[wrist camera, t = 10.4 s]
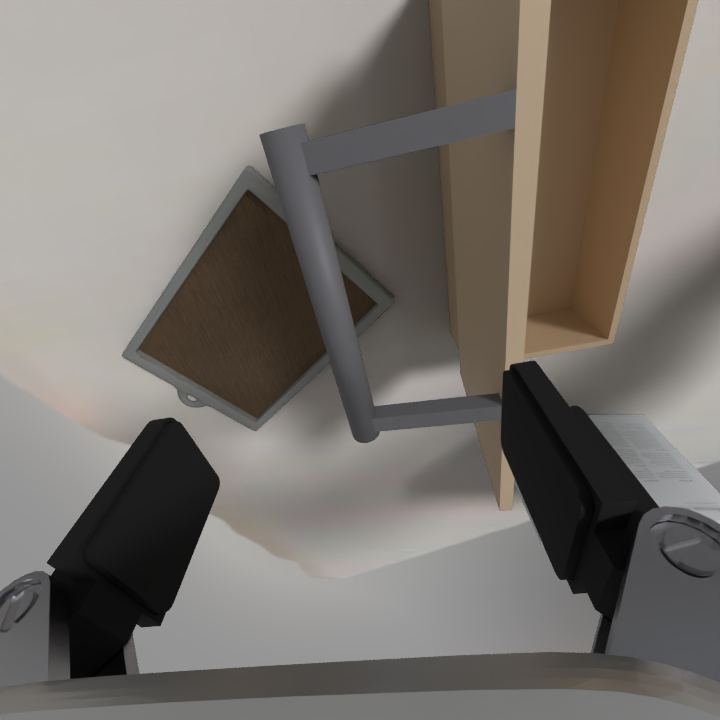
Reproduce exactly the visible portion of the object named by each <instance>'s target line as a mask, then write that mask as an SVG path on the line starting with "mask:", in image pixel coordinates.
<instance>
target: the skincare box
mask: <svg viewBox="0 0 720 720" xmlns="http://www.w3.org/2000/svg"><path fill="white" fill-rule="evenodd" d="M588 416H589V418H590V419H591V420H592V421H593V423H594V424H595V425H596V427H597V428H598V429H599V430H600V432H601V433H602V434H603V436H604V437H605V438H606V439H607V441H608V442H609V443H610V445H611V446H612V447H613V448H614V450H615V451H616V452H617V453H618V455H619V456H620V457H621V459H622V460H623V461H624V462H625V464H626V465H627V466H628V468H629V469H630V470H631V471H632V473H633V474H634V475H635V477H636V478H637V479H638V480H639V482H640V483H641V484H642V486H643V487H644V488H645V489H646V491H647V492H648V493H649V494H650V496H651V497H652V498H653V500H654V501H655V502H656V503H657V505H658V506H659V507H664V506H668V507H680V508H684V509H687V510H691V511H694V512H697V513H700V514H702V515H704V516H706V517H708V518H710V519H712V520H714V521H716V522H717V523H719V524H720V494H719V493H718V492H717V491H716V490H715V489H714V487H713V486H712V485H711V484H710V483H709V482H708V481H707V480H706V479H705V478H704V477H703V476H702V475H701V474H700V473H699V471H698V470H697V469H696V468H695V467H694V466H693V465H692V464H691V463H690V462H689V461H688V460H687V459H686V458H685V457H684V456H683V455H682V454H681V453H680V452H679V451H678V449H677V448H675V447H674V446H673V445H672V444H671V443H670V442H669V441H668V440H667V439H666V438H665V437H664V435H663V434H662V433H661V432H660V431H659V430H658V429H657V428H656V427H655V426H654V425H653V424H652V423H651V422H650V421H649V420H648V418H647V417H646V416H645V415H588ZM514 483H515V486H516V488H517V490H518V492H519V495H520V497H521V499H522V501H523V504H524V506H525V508H526V511H527V513H528V515H529V517H530V520H531V522H532V524H533V527H534V529H535V531H536V533H537V536H538V538H539V540H540V542H541V544H543V543H542V541H541V538H540V536H539V534H538V532H537V529H536V527H535V525H534V522H533V520H532V518H531V515H530V513H529V511H528V508H527V506H526V504H525V501H524V499H523V497H522V494H521V492H520V490H519V488H518V485H517V483H516V481H515V479H514Z"/></svg>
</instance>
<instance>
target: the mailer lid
mask: <svg viewBox="0 0 720 720" xmlns="http://www.w3.org/2000/svg"><path fill="white" fill-rule="evenodd" d="M441 3H442V22H443V42H444V61H445V81H446V101H447V106H446V107H442V108H438V109H434V110H430V111H426V112H422V113H418V114H414V115H410V116H406V117H402V118H398V119H394V120H390V121H386V122H382V123H378V124H374V125H370V126H366V127H362V128H358V129H354V130H350V131H346V132H342V133H338V134H334V135H330V136H326V137H322V138H318V139H314V140H310V141H309V139H308V135H307V131H306V127H305V124H300V125H295V126H290V127H286V128H282V129H278V130H274V131H270V132H267V133H263V134H260V138H261V142H262V145H263V148H264V151H265V154H266V158H267V161H268V164H269V167H270V171H271V174H272V177H273V180H274V183H275V187H276V190H277V193H278V196H279V199H280V203H281V206H282V209H283V212H284V216H285V219H286V222H287V225H288V228H289V232H290V235H291V238H292V241H293V244H294V248H295V251H296V254H297V257H298V261H299V264H300V267H301V270H302V273H303V277H304V280H305V283H306V286H307V289H308V293H309V296H310V299H311V302H312V306H313V309H314V312H315V315H316V318H317V322H318V325H319V328H320V331H321V334H322V338H323V341H324V344H325V347H326V351H327V354H328V357H329V360H330V363H331V367H332V370H333V373H334V376H335V379H336V383H337V386H338V389H339V392H340V396H341V399H342V402H343V405H344V408H345V412H346V415H347V418H348V421H349V425H350V428H351V431H352V434H353V437H354V439H355V440H356V441H358V442H360V443H368V442H371V441H373V440H375V439H376V438H377V437H378V435H379V433H380V431H388V430H399V429H410V428H420V427H431V426H442V425H452V424H463V423H473V422H474V423H475V427H476V430H477V434H478V437H479V441H480V444H481V448H482V451H483V455H484V458H485V462H486V465H487V469H488V472H489V476H490V479H491V483H492V486H493V490H494V493H495V497H496V500H497V504H498V507H499V511H505V510H512V505H513V492H514V479H515V478H514V476H513V474H512V471H511V469H510V467H509V464H508V462H507V460H506V457H505V455H504V453H503V450H502V446H501V411H502V383H503V372H504V371H506V370H509V368H510V365H511V364H515V363H521V362H524V349H525V336H526V323H527V310H528V297H529V284H530V271H531V258H532V245H533V232H534V219H535V206H536V193H537V180H538V167H539V153H540V140H541V127H542V114H543V101H544V88H545V75H546V62H547V49H548V36H549V23H550V10H551V0H441ZM444 144H449V160H450V179H451V199H452V218H453V238H454V258H455V277H456V297H457V317H458V336H459V356H460V374H461V378H462V381H463V385H464V388H465V392H466V395H467V396H466V397H457V398H447V399H438V400H429V401H419V402H410V403H401V404H391V405H382V406H374V404H373V400H372V396H371V392H370V388H369V384H368V380H367V376H366V372H365V368H364V364H363V360H362V355H361V351H360V347H359V343H358V339H357V335H356V331H355V327H354V323H353V319H352V315H351V311H350V306H349V302H348V298H347V294H346V290H345V286H344V282H343V278H342V274H341V270H340V266H339V262H338V257H337V253H336V249H335V245H334V241H333V237H332V233H331V229H330V225H329V221H328V217H327V213H326V208H325V204H324V200H323V196H322V192H321V188H320V184H319V180H318V176H317V174H319V173H323V172H328V171H332V170H336V169H341V168H345V167H349V166H354V165H358V164H362V163H367V162H371V161H375V160H380V159H384V158H388V157H393V156H397V155H401V154H406V153H410V152H414V151H419V150H423V149H427V148H431V147H436V146H440V145H444Z"/></svg>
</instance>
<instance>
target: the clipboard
mask: <svg viewBox="0 0 720 720" xmlns="http://www.w3.org/2000/svg"><path fill="white" fill-rule="evenodd" d="M334 245H335V249H336V253H337V257H338V262H339V266H340V270H341V274H342V278H343V282H344V286H345V290H346V294H347V298H348V302H349V306H350V311H351V315H352V319H353V323H354V327H355V331H356V335H357V337H358V336H359V335H360V334H361V333H362V332H363V331H364V330H365V329H366V328H367V327H369V326H370V325H371V324H372V323H373V322H374V321H375V320H376V319H377V318H378V317H379V316H380V315H381V314H382V313H384V312H385V311H386V310H387V309H388V308H389V307H390V306H391V305H392V304H393V303H394V297H393V296H392V295H391V294H390V293H389V292H388V291H387V290H386V289H384V288H383V287H382V286H381V285H380V284H379V283H378V282H377V281H376V280H375V279H374V278H372V277H371V276H370V275H369V274H368V273H367V272H366V271H365V270H364V269H363V268H362V267H361V266H359V265H358V264H357V263H356V262H355V261H354V260H353V259H352V258H351V257H350V256H349V255H348V254H346V253H345V252H344V251H343V250H342V249H341V248H340V247H339V246H338V245H337V244H336V243H334ZM122 356H123V357H125V358H127V359H128V360H130V361H132V362H134V363H135V364H137V365H139V366H141V367H142V368H144V369H146V370H148V371H150V372H151V373H153V374H155V375H157V376H158V377H160V378H162V379H164V380H165V381H167V382H169V383H171V384H173V385H174V386H175V387H176V388H177V389H178V395H179V398H180V399H181V401H182V402H183V403H184V404H185V405H187V406H190V407H204V406H206V405H207V406H210V407H213V408H215V409H217V410H219V411H220V412H222V413H224V414H226V415H228V416H229V417H231V418H233V419H235V420H236V421H238V422H240V423H242V424H243V425H245V426H247V427H249V428H251V429H252V430H254V431H257V430H258V429H259V428H260V427H261V426H262V425H263V424H264V423H265V422H267V421H268V420H269V419H270V418H271V417H272V416H273V415H274V414H275V413H276V412H277V411H278V410H279V409H280V408H282V407H283V406H284V405H285V404H286V403H287V402H288V401H289V400H290V399H291V398H292V397H293V396H294V395H296V394H297V393H298V392H299V391H300V390H301V389H302V388H303V387H304V386H305V385H306V384H307V383H308V382H309V381H311V380H312V379H313V378H314V377H315V376H316V375H317V374H318V373H319V372H320V371H321V370H322V369H323V368H325V367H326V366H327V365H328V364H329V363H330V360H329V357H328V354H327V351H326V347H325V344H324V341H323V338H322V334H321V331H320V328H319V325H318V322H317V318H316V315H315V312H314V309H313V306H312V302H311V299H310V296H309V293H308V289H307V286H306V283H305V280H304V277H303V273H302V270H301V267H300V264H299V261H298V257H297V254H296V251H295V248H294V244H293V241H292V238H291V235H290V232H289V228H288V225H287V222H286V219H285V216H284V212H283V209H282V206H281V203H280V199H279V196H278V193H277V190H276V188H275V187H274V186H273V185H271V184H270V183H269V182H268V181H267V180H266V179H265V178H264V177H263V176H262V175H261V174H260V173H258V172H257V171H256V170H255V169H254V168H253V167H251V166H247V167H246V168H245V170H244V171H243V172H242V174H241V175H240V177H239V178H238V180H237V181H236V183H235V184H234V186H233V187H232V189H231V190H230V192H229V193H228V195H227V196H226V198H225V199H224V201H223V202H222V204H221V206H220V207H219V209H218V210H217V212H216V213H215V215H214V216H213V218H212V219H211V221H210V222H209V224H208V225H207V227H206V228H205V230H204V231H203V233H202V234H201V236H200V237H199V239H198V240H197V242H196V243H195V245H194V246H193V248H192V249H191V251H190V252H189V254H188V255H187V257H186V258H185V260H184V261H183V263H182V264H181V266H180V267H179V269H178V270H177V272H176V273H175V275H174V276H173V278H172V280H171V281H170V283H169V284H168V286H167V287H166V289H165V290H164V292H163V293H162V295H161V296H160V298H159V299H158V301H157V302H156V304H155V305H154V307H153V308H152V310H151V311H150V313H149V314H148V316H147V317H146V319H145V320H144V322H143V323H142V325H141V326H140V328H139V329H138V331H137V332H136V334H135V335H134V337H133V338H132V340H131V341H130V343H129V344H128V346H127V347H126V349H125V351H124V352H123V354H122ZM188 394H189V395H192V396H194V397H196V398H197V401H191V400H189V399H188V398H187V395H188Z"/></svg>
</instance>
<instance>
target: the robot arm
mask: <svg viewBox="0 0 720 720" xmlns="http://www.w3.org/2000/svg"><path fill="white" fill-rule="evenodd" d="M501 446H502V450H503V453H504V455H505V457H506V460H507V462H508V464H509V467H510V469H511V471H512V474H513V476H514V478H515V481H516V483H517V485H518V488H519V490H520V492H521V494H522V497H523V499H524V501H525V504H526V506H527V508H528V511H529V513H530V515H531V518H532V520H533V522H534V525H535V527H536V529H537V532H538V534H539V536H540V538H541V541H542V543H543V545H544V548H545V550H546V552H547V554H548V557H549V559H550V562H551V563H552V566H553V569H554V571H555V573H556V575H557V576H558V578H559V579H560V580H567V581H568V583H569V586H570V588H571V590H572V592H573V594H578V593H588V595H589V598H590V600H591V602H592V604H593V606H594V608H595V610H597V611H599V612H600V613H601V615H600V619H599V623H598V627H597V630H596V634H595V638H594V642H593V646H592V650H591V653H562V652H539V653H511V654H482V655H457V656H439V657H438V656H437V657H420V658H401V659H382V660H364V661H346V662H327V663H312V664H294V665H276V666H260V667H243V668H226V669H211V670H194V671H179V672H163V673H149V674H148V673H147V674H139V668H138V662H137V656H136V651H135V645H134V639H133V634H132V633H133V630H134V628H135V626H136V624H137V625H139V626H140V627H152V626H161V623H162V621H163V618H164V616H165V613H166V612H167V611H168V610H169V609H170V608H171V607H172V605H173V603H174V600H175V598H176V595H177V592H178V590H179V588H180V585H181V583H182V580H183V578H184V575H185V573H186V570H187V568H188V565H189V563H190V560H191V557H192V555H193V553H194V550H195V547H196V545H197V542H198V540H199V537H200V535H201V532H202V530H203V527H204V525H205V522H206V520H207V517H208V515H209V512H210V510H211V507H212V505H213V502H214V500H215V497H216V495H217V492H218V490H219V486H220V480H219V477H218V475H217V474H216V472H215V471H214V470H213V468H212V467H211V465H210V464H209V462H208V461H207V459H206V458H205V457H204V455H203V454H202V452H201V451H200V449H199V448H198V447H197V445H196V444H195V442H194V441H193V439H192V438H191V436H190V435H189V434H188V432H187V431H186V429H185V428H184V426H183V425H182V424H181V423H180V422H177V421H176V420H175V419H173V418H165V419H158V420H152V421H150V422H149V423H148V424H147V425H146V426H145V428H144V429H143V431H142V432H141V433H140V435H139V436H138V437H137V439H136V440H135V442H134V443H133V444H132V446H131V447H130V448H129V450H128V451H127V453H126V454H125V455H124V457H123V458H122V460H121V461H120V462H119V464H118V465H117V466H116V468H115V469H114V471H113V472H112V474H111V475H110V476H109V478H108V479H107V480H106V482H105V483H104V484H103V486H102V487H101V489H100V490H99V492H98V493H97V494H96V495H95V497H94V498H93V500H92V501H91V502H90V504H89V505H88V506H87V508H86V509H85V511H84V512H83V513H82V515H81V516H80V517H79V519H78V520H77V522H76V523H75V524H74V526H73V527H72V528H71V530H70V531H69V533H68V534H67V535H66V537H65V538H64V540H63V541H62V542H61V544H60V545H59V546H58V548H57V549H56V550H55V552H54V553H53V555H52V556H51V557H50V559H49V560H48V562H47V563H48V564H49V565H51V566H52V567H54V568H55V571H54V572H53V574H52V575H51V576H50V575H48V574H47V573H45V572H44V571H35V572H32V573H29V574H26V575H24V576H22V577H20V578H19V579H17V580H15V581H13V582H12V583H11V584H9V585H8V586H7V587H5V588H4V589H3V590H2V591H0V720H720V524H719V523H717V522H716V521H714V520H712V519H710V518H708V517H706V516H704V515H702V514H700V513H697V512H694V511H691V510H687V509H684V508H680V507H668V506H664V507H659V506H658V505H657V503H656V502H655V501H654V500H653V498H652V497H651V496H650V494H649V493H648V492H647V491H646V489H645V488H644V487H643V486H642V484H641V483H640V482H639V480H638V479H637V478H636V477H635V475H634V474H633V473H632V471H631V470H630V469H629V468H628V466H627V465H626V464H625V462H624V461H623V460H622V459H621V457H620V456H619V455H618V453H617V452H616V451H615V450H614V448H613V447H612V446H611V445H610V443H609V442H608V441H607V439H606V438H605V437H604V436H603V434H602V433H601V432H600V430H599V429H598V428H597V427H596V425H595V424H594V423H593V421H592V420H591V419H590V418H589V416H588V415H587V414H586V413H585V412H584V410H583V409H582V408H580V407H578V406H571V407H569V406H568V404H567V403H566V402H565V400H564V399H563V398H562V396H561V395H560V394H559V392H558V391H557V390H556V388H555V387H554V385H553V384H552V383H551V381H550V380H549V379H548V377H547V376H546V375H545V373H544V372H543V371H542V369H541V368H540V366H539V365H538V364H537V363H536V362H535V361H528V362H521V363H515V364H511V365H510V368H509V370H506V371H504V372H503V383H502V411H501Z"/></svg>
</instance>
